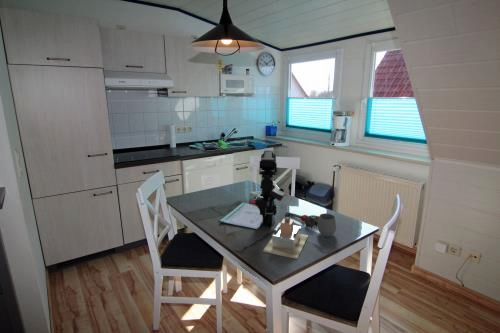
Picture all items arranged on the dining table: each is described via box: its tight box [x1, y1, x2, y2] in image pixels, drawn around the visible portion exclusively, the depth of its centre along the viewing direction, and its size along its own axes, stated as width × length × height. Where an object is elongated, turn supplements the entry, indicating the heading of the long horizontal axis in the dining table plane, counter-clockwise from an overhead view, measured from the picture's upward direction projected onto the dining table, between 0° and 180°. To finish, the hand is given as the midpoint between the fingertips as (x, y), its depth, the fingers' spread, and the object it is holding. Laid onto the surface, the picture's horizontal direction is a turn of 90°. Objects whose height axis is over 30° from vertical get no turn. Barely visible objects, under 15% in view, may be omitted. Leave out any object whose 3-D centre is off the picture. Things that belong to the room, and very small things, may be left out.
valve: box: [284, 211, 320, 229], centre depth 168 cm, size 6×26×15 cm
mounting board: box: [262, 233, 309, 260], centre depth 143 cm, size 22×16×1 cm
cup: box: [316, 213, 337, 238], centre depth 150 cm, size 10×9×10 cm
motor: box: [271, 222, 302, 251], centre depth 143 cm, size 17×10×8 cm, turn 157°
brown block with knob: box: [280, 216, 295, 234], centre depth 140 cm, size 5×5×7 cm
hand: (267, 213), depth 149 cm, fingers open, 9 cm apart
